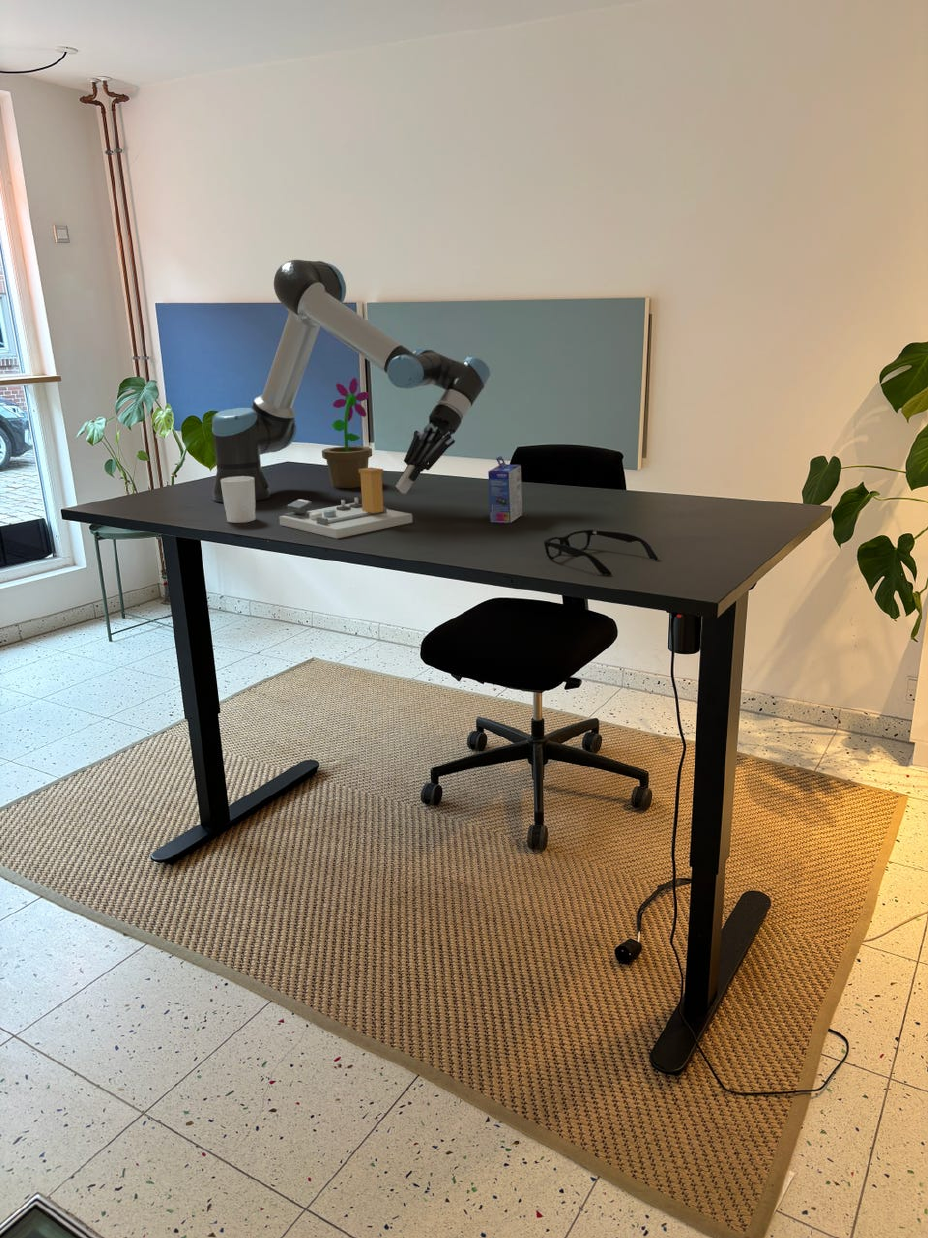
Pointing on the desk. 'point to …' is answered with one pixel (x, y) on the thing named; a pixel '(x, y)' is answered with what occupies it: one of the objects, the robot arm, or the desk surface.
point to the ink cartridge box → (505, 492)
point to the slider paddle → (371, 489)
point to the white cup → (239, 498)
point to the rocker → (300, 506)
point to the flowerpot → (347, 458)
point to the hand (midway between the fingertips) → (400, 489)
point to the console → (344, 520)
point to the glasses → (577, 552)
